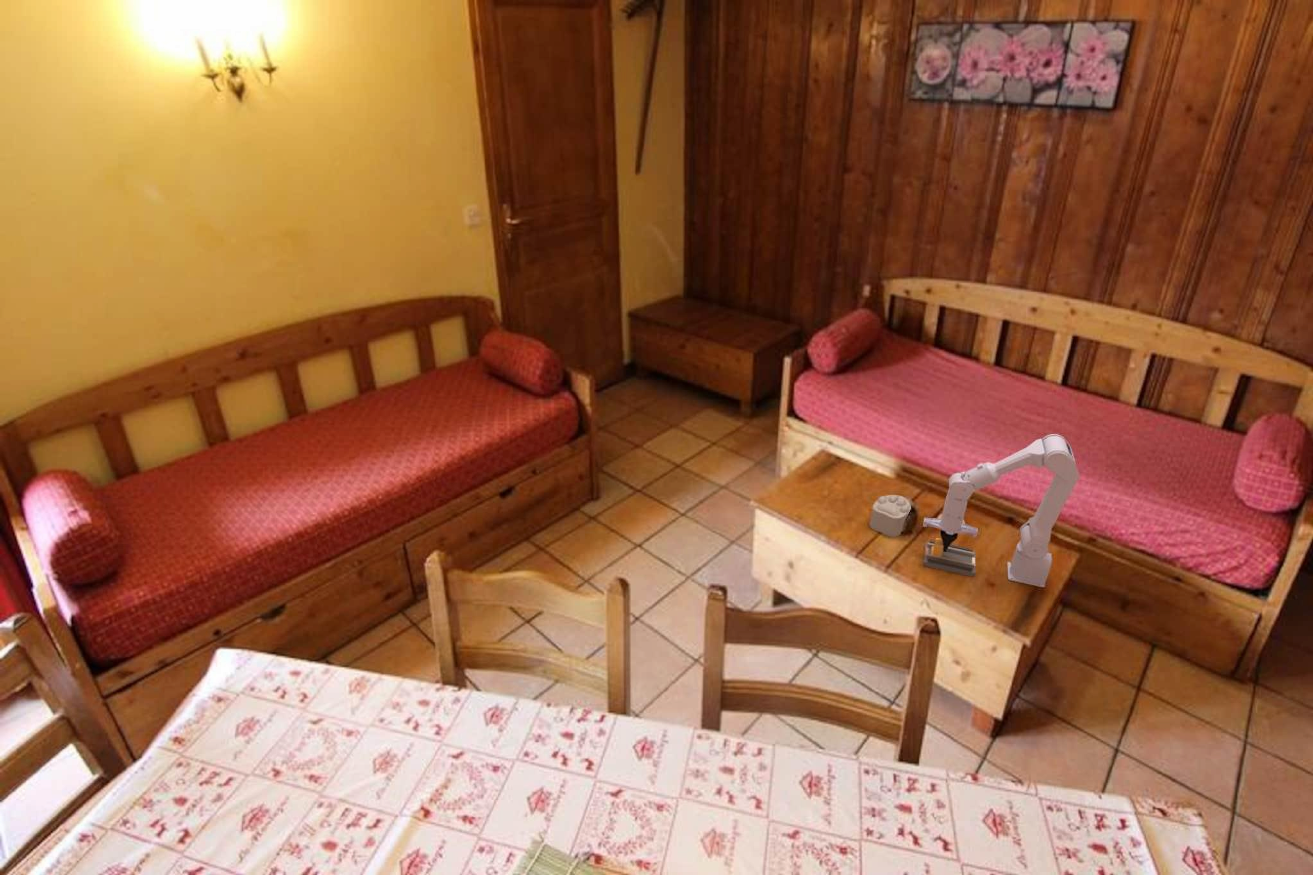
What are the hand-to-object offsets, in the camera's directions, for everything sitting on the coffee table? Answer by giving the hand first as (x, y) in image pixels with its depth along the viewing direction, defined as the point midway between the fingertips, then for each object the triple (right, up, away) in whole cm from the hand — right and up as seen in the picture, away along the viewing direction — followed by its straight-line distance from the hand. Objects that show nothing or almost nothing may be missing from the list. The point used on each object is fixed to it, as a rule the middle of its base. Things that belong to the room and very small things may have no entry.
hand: (944, 549), depth 212 cm
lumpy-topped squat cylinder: (-10, +5, +18) cm, 21 cm away
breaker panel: (+2, -4, +1) cm, 4 cm away
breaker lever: (-2, -1, +2) cm, 3 cm away
